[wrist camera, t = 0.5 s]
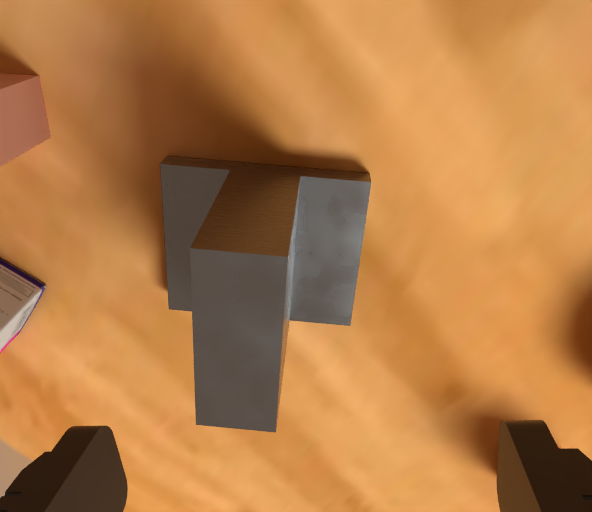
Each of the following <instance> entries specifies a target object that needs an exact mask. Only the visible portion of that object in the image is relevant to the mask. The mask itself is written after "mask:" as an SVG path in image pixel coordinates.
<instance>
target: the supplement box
mask: <svg viewBox="0 0 592 512" xmlns="http://www.w3.org/2000/svg"><path fill="white" fill-rule="evenodd" d="M45 288H46V285H45V284H43V283H42V282H40V281H39V280H37V279H35V278H34V277H32V276H30V275H29V274H27V273H25V272H23V271H21V270H20V269H18V268H16V267H15V266H13V265H11V264H9V263H8V262H6V261H4V260H2V259H1V258H0V353H1V352H2V351H3V350H4V349H5V348H6V346H7V345H8V344H9V343H10V342H11V341H12V340H13V339H14V338H15V337H16V336H17V335H18V334H19V332H20V331H21V329H22V328H23V326H24V324H25V323H26V321H27V319H28V318H29V316H30V314H31V313H32V311H33V309H34V308H35V306H36V304H37V302H38V300H39V299H40V297H41V295H42V293H43V291H44V290H45Z"/></svg>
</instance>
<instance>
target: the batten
mask: <svg viewBox="0 0 592 512" xmlns="http://www.w3.org/2000/svg"><path fill="white" fill-rule="evenodd" d="M48 138H50V131H49V126H48V120H47V115H46V109H45V104H44V99H43V93H42V88H41V82H40V77H39V75H23V74H6V73H0V167H1V166H2V165H4V164H6V163H8V162H9V161H11V160H13V159H14V158H16V157H18V156H19V155H21V154H23V153H25V152H26V151H28V150H30V149H31V148H33V147H35V146H36V145H38V144H40V143H42V142H43V141H45V140H47V139H48Z"/></svg>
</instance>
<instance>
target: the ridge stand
mask: <svg viewBox="0 0 592 512" xmlns="http://www.w3.org/2000/svg"><path fill="white" fill-rule="evenodd" d="M160 171H161V187H162V204H163V220H164V237H165V253H166V270H167V287H168V303H169V309H172V310H183V311H192V320H193V349H194V378H195V408H196V425H205V426H215V427H226V428H236V429H246V430H257V431H267V432H276V427H277V419H278V410H279V402H280V394H281V386H282V377H283V369H284V361H285V353H286V344H287V336H288V328H289V320H292V321H303V322H314V323H325V324H336V325H347V326H350V323H351V317H352V310H353V303H354V296H355V289H356V282H357V276H358V269H359V262H360V255H361V248H362V241H363V235H364V228H365V221H366V214H367V207H368V201H369V194H370V187H371V179H370V173H362V172H350V171H338V170H327V169H315V168H303V167H292V166H280V165H268V164H257V163H245V162H233V161H222V160H210V159H198V158H187V157H175V156H167V157H166V158H165V159H164V160H163V161H162V162H161V164H160Z"/></svg>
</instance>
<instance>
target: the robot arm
mask: <svg viewBox="0 0 592 512" xmlns="http://www.w3.org/2000/svg"><path fill="white" fill-rule="evenodd" d="M497 494H498V501H499V507H500V511H501V512H592V461H591V460H590V459H589V458H588V457H587V456H586V455H584V454H583V453H582V452H581V451H580V450H579V449H558V447H557V445H556V443H555V441H554V439H553V437H552V435H551V433H550V431H549V429H548V427H547V425H546V424H545V422H544V421H542V420H522V421H501V423H500V428H499V446H498V465H497ZM126 499H127V479H126V476H125V472H124V469H123V465H122V462H121V459H120V455H119V452H118V448H117V445H116V441H115V438H114V435H113V432H112V430H111V429H110V427H108V426H73V427H71V428H69V429H68V430H67V431H66V432H65V434H64V435H63V436H62V438H61V439H60V440H59V442H58V443H57V444H56V446H55V447H54V448H53V450H52V451H51V452H44V453H43V454H42V455H41V456H39V457H38V458H37V459H36V460H34V461H33V462H32V463H31V464H29V465H28V466H27V467H26V468H24V469H23V470H22V471H21V472H20V474H19V475H18V476H17V477H16V479H15V480H14V481H13V483H12V484H11V485H10V486H9V488H8V489H7V490H6V492H5V496H2V497H1V498H0V512H123V510H124V507H125V504H126Z"/></svg>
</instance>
